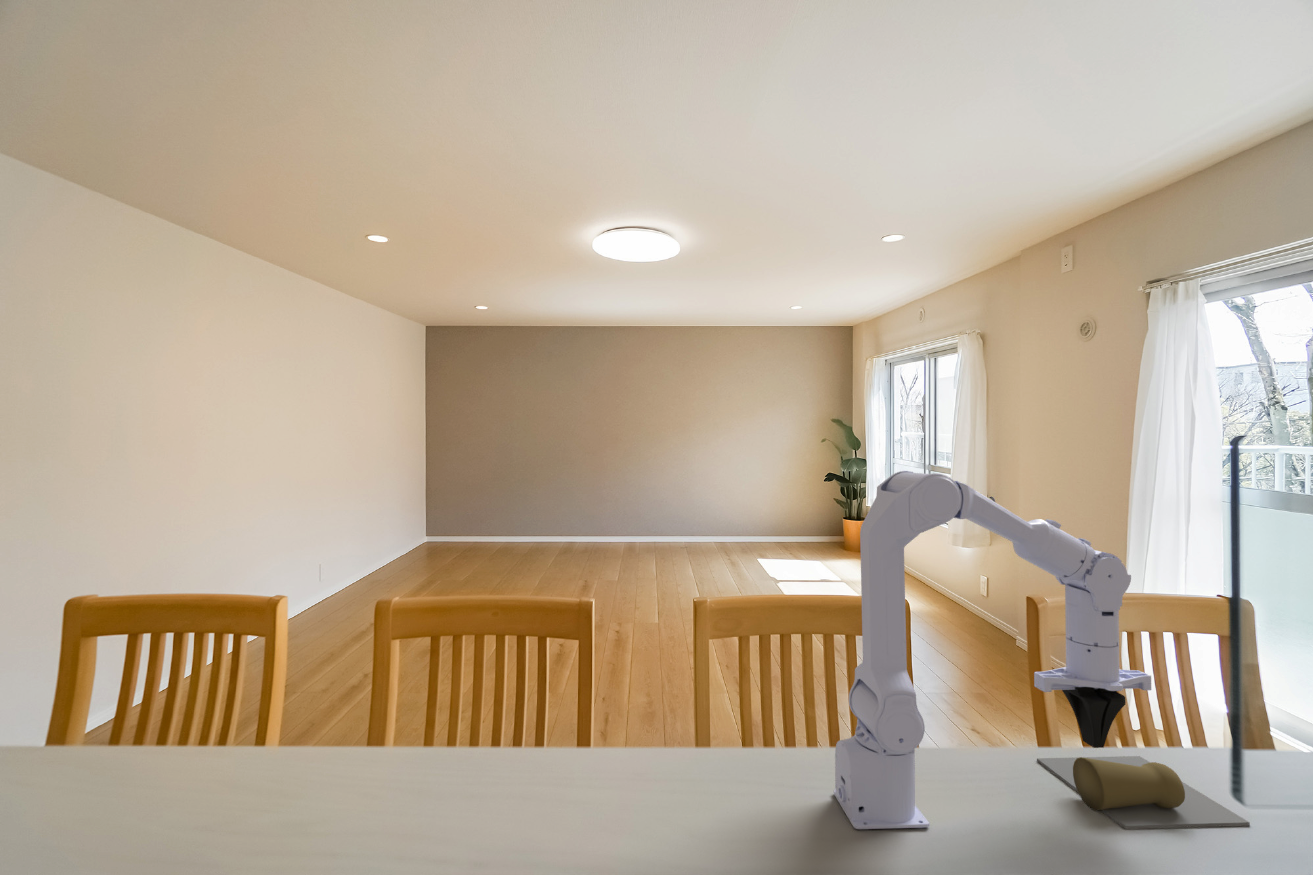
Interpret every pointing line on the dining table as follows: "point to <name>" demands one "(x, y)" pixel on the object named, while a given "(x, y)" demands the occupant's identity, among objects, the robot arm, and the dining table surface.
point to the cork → (1126, 784)
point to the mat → (1188, 814)
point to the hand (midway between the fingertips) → (1093, 744)
